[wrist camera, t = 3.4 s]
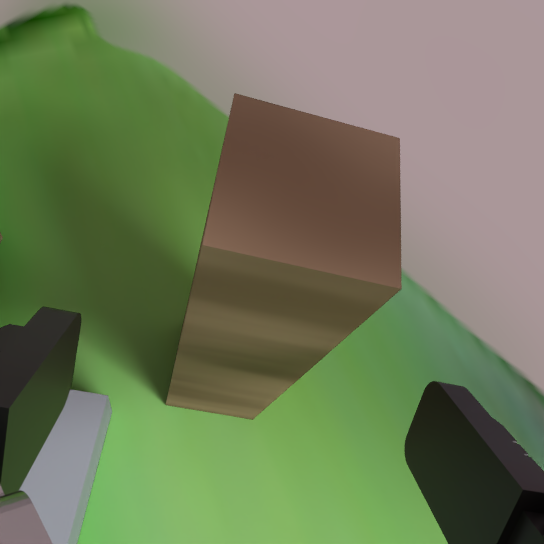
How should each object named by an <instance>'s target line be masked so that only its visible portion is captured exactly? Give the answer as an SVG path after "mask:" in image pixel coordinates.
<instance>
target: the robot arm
mask: <svg viewBox="0 0 544 544" xmlns="http://www.w3.org/2000/svg"><path fill="white" fill-rule="evenodd" d="M80 326H81V314H80V313H76V312H70V311H65V310H60V309H55V308H49V307H42V308H41V309H40V310H39V311H38V312H37V313H36V314H35V315H34V316H33V317H32V318H31V320H30V321H29V322H28V323H27V324H26V325H25V326H24V327H23V326H18V325H12V324H9V325H6V326H4V327H1V328H0V544H53V543H52V541H51V539H50V537H49V535H48V533H47V531H46V529H45V527H44V525H43V523H42V521H41V519H40V517H39V515H38V513H37V511H36V509H35V507H34V505H33V503H32V501H31V499H30V498H29V496H28V495H27V494H26V493H25V492H24V491H21V490H20V491H19V489H20V487H21V486H22V484H23V482H24V480H25V478H26V476H27V475H28V473H29V471H30V469H31V467H32V465H33V464H34V462H35V460H36V458H37V456H38V454H39V452H40V451H41V449H42V447H43V445H44V443H45V441H46V440H47V438H48V436H49V434H50V432H51V430H52V429H53V427H54V425H55V423H56V421H57V419H58V417H59V416H60V414H61V412H62V410H63V408H64V406H65V404H66V401H67V398H68V395H69V392H70V388H71V384H72V378H73V372H74V366H75V359H76V353H77V346H78V340H79V333H80ZM516 442H517V441H516V440H515V439H514V438H513V437H512V435H511V434H510V433H509V432H508V431H507V430H506V429H505V428H504V426H503V425H501V424H500V423H499V422H497V421H496V420H495V419H493V418H492V417H491V416H490V415H489V414H488V412H487V411H486V410H485V409H484V408H483V407H482V406H481V404H480V403H479V402H478V401H477V400H476V399H475V398H474V396H473V395H472V394H471V393H470V392H469V391H468V390H467V389H466V388H465V387H463V386H457V385H452V384H447V383H442V382H436V381H432V382H430V383H429V384H428V385H427V386H426V388H425V390H424V392H423V395H422V397H421V400H420V403H419V405H418V408H417V410H416V413H415V415H414V418H413V421H412V423H411V426H410V428H409V431H408V434H407V436H406V440H405V458H406V462H407V465H408V467H409V469H410V471H411V472H412V474H413V476H414V478H415V480H416V482H417V484H418V486H419V488H420V490H421V492H422V494H423V496H424V498H425V499H426V501H427V503H428V505H429V507H430V509H431V511H432V513H433V515H434V517H435V519H436V521H437V523H438V525H439V527H440V528H441V530H442V532H443V534H444V536H445V538H446V540H447V542H448V544H544V472H543V470H542V469H541V468H540V467H539V466H538V465H537V464H536V463H535V461H534V460H533V459H532V458H530V457H528V453H527V452H526V451H525V450H524V449H523V448H522V447H521V446H520V444H516Z"/></svg>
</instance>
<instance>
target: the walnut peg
mask: <svg viewBox="0 0 544 544" xmlns="http://www.w3.org/2000/svg"><path fill="white" fill-rule="evenodd" d="M400 211H401V208H400V139H399V138H397V137H393V136H389V135H386V134H382V133H378V132H375V131H371V130H367V129H364V128H360V127H356V126H352V125H349V124H345V123H342V122H338V121H334V120H331V119H327V118H323V117H319V116H316V115H312V114H309V113H305V112H301V111H297V110H294V109H290V108H286V107H283V106H279V105H275V104H272V103H268V102H265V101H261V100H257V99H254V98H250V97H246V96H243V95H239V94H234V98H233V103H232V108H231V111H230V116H229V120H228V125H227V129H226V134H225V138H224V143H223V147H222V152H221V156H220V161H219V165H218V170H217V174H216V179H215V183H214V188H213V192H212V197H211V201H210V205H209V210H208V214H207V219H206V223H205V228H204V232H203V237H202V241H201V246H200V250H199V255H198V259H197V264H196V268H195V273H194V277H193V282H192V286H191V291H190V295H189V300H188V304H187V308H186V313H185V317H184V322H183V327H182V331H181V336H180V340H179V345H178V350H177V354H176V359H175V364H174V368H173V373H172V377H171V382H170V387H169V391H168V396H167V401H166V405H169V406H175V407H181V408H187V409H193V410H199V411H205V412H211V413H217V414H223V415H229V416H235V417H241V418H246V419H252V420H253V419H254V418H255V417H256V416H257V415H258V414H259V413H261V412H262V411H263V410H264V409H265V408H266V407H267V406H269V405H270V404H271V403H272V402H273V401H274V400H275V399H277V398H278V397H279V396H280V395H281V394H282V393H283V392H285V391H286V390H287V389H288V388H289V387H290V386H291V385H292V384H294V383H295V382H296V381H297V380H298V379H299V378H300V377H302V376H303V375H304V374H305V373H306V372H307V371H308V370H310V369H311V368H312V367H313V366H314V365H315V364H316V363H318V362H319V361H320V360H321V359H322V358H323V357H324V356H326V355H327V354H328V353H329V352H330V351H331V350H332V349H333V348H335V347H336V346H337V345H338V344H339V343H340V342H341V341H343V340H344V339H345V338H346V337H347V336H348V335H349V334H351V333H352V332H353V331H354V330H355V329H356V328H357V327H359V326H360V325H361V324H362V323H363V322H364V321H365V320H367V319H368V318H369V317H370V316H371V315H372V314H373V313H375V312H376V311H377V310H378V309H379V308H380V307H381V306H382V305H384V304H385V303H386V302H387V301H388V300H389V299H390V298H392V297H393V296H394V295H395V294H396V293H397V292H398V291H400V290H401V212H400Z"/></svg>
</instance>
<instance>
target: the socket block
mask: <svg viewBox="0 0 544 544" xmlns="http://www.w3.org/2000/svg"><path fill="white" fill-rule="evenodd" d="M111 414H112V409H111V405H110V401H109V398H108V396H107V395H101V394H95V393H89V392H83V391H77V390H71V389H70V392H69V395H68V398H67V401H66V404H65V406H64V408H63V410H62V412H61V414H60V416H59V417H58V419H57V421H56V423H55V425H54V427H53V429H52V430H51V432H50V434H49V436H48V438H47V440H46V441H45V443H44V445H43V447H42V449H41V451H40V452H39V454H38V456H37V458H36V460H35V462H34V464H33V465H32V467H31V469H30V471H29V473H28V475H27V476H26V478H25V480H24V482H23V484H22V486H21V487H20V489H19V491H20V490H21V491H24V492H25V493H26V494H27V495H28V496H29V498H30V499H31V501H32V503H33V505H34V507H35V509H36V511H37V513H38V515H39V517H40V519H41V521H42V523H43V525H44V527H45V529H46V531H47V533H48V535H49V537H50V539H51V541H52V543H53V544H77V542H78V538H79V534H80V530H81V527H82V523H83V519H84V515H85V512H86V508H87V504H88V500H89V497H90V493H91V489H92V485H93V481H94V478H95V474H96V470H97V466H98V463H99V459H100V455H101V451H102V448H103V444H104V440H105V436H106V433H107V429H108V425H109V421H110V417H111Z"/></svg>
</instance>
